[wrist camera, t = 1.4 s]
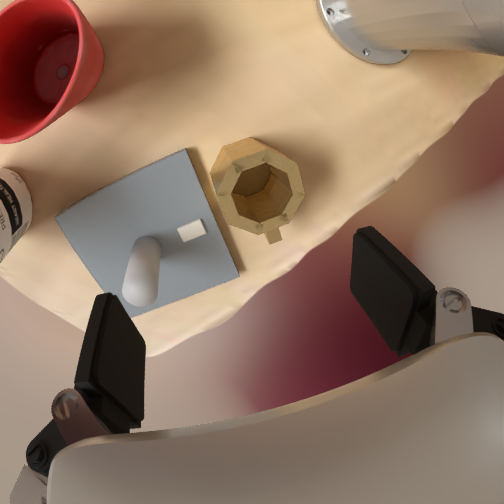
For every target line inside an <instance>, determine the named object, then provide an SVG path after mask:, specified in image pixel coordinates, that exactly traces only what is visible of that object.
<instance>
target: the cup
mask: <svg viewBox="0 0 504 504" xmlns="http://www.w3.org/2000/svg"><path fill="white" fill-rule="evenodd" d="M264 163H267V164H269V166H270V169H271V173H272V175H271V176H270V178H269V180H268V182H267V184H266V186H265V188H264V189H263V191H260V192H258V193H255V194H252V195H250V196H247V197H243V196H241V195H238V194H236V193H233V192H232V190H233V188H234V186H235V184H236V182H237V180H238V178H239V176H240V174H241V172H242V171H245V170H247V169H250V168H253V167H256V166H259V165H261V164H264ZM210 175H211V179H212V182H213V185H214V188H215V192H216V195H217V197H218V199H219V202H220V204H221V207H222V209H223V212H224V214H225V217H226V219H227V222H228V224H229V225H232V226H235V227H238V228H240V229H243V230H246V231H249V232H251V233H254V234H257V235H260V234H262V233H264V234H265V237H266V238H267V240H268V242H269V244H273V243H275V242H278V241H280V240H282V238H281V234H280V231H279V227H280V226H283V225H286V224H288V223H289V222H290V221H291V219H292V217H293V216H294V214H295V212H296V210H297V209H298V207H299V205H300V203H301V202H302V200H303V198H304V197H305V191H304V187H303V183H302V179H301V175H300V171H299V167H298V164H297V163H295V162H294V161H292V160H291V159H289V158H288V157H286V156H285V155H283V154H282V153H280V152H279V151H277V150H275V149H274V148H272V147H270V146H267V145H265V144H263V143H261V142H259V141H257V140H255V139H253V138H251V137H249V138H246V139H243V140H240V141H238V142H235V143H232V144H229V145H227V146H224V147H222V149H221V151H220V153H219V155H218V157H217V159H216V161H215V163H214V165H213V167H212V169H211V172H210Z"/></svg>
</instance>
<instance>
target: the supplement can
mask: <svg viewBox="0 0 504 504" xmlns="http://www.w3.org/2000/svg"><path fill="white" fill-rule="evenodd" d="M32 209H33V206H32V201H31V196H30V193H29V191H28V189H27V187H26V184H25V182H24V181H23V180H22V179H21V178H20V177H19V175H18V174H17V173H15V172H13V171H11V170H9V169H6V168H0V263H1V261H2V260H3V259H4V258H5V256H6V255H7V254H8V253H9V251H10V250H11V249H12V248H13V246H14V245H15V244H16V243H17V241H18V240H19V239H20V238H21V237H22V236H23V234H24V233H25V232H26V231H27V230H28V228H29V225H30V223H31V220H32Z"/></svg>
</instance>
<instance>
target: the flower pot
mask: <svg viewBox="0 0 504 504" xmlns="http://www.w3.org/2000/svg"><path fill="white" fill-rule="evenodd" d="M103 66H104V53H103V49H102V46H101V44H100V41H99V39H98V37H97V35H96V33H95V32H94V30H93V28H92V27H91V25H90V24H89V22H88V21H87V19H86V18H85V16H84V14H83V13H82V12H81V10H80V9H79V7H78V6H77V5H76V4H75V2H74V1H73V0H15V1H14V2H12V3H11V4H9V5H8V6H7V7H5V8H4V9H3V10H2V11H1V12H0V143H1V144H11V143H16V142H20V141H23V140H25V139H28V138H30V137H31V136H33V135H35V134H37V133H38V132H40V131H42V130H43V129H44V128H46V127H47V126H49V125H50V124H51V123H53V122H54V121H56V120H57V119H58V118H60V117H61V116H62V115H64V114H65V113H66V112H68V111H69V110H70V109H72V108H73V107H74V106H75V105H77V104H78V103H79V102H81V101H82V100H83V99H85V98H86V97H87V96H88V95H89V94H90V93H91V91H92V90H93V89H94V87H95V86H96V84H97V83H98V81H99V79H100V76H101V74H102V70H103Z"/></svg>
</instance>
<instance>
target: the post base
mask: <svg viewBox="0 0 504 504" xmlns="http://www.w3.org/2000/svg"><path fill="white" fill-rule="evenodd" d="M55 220H56V222H57V223H58V225H59V227H60V228H61V230H62V232H63V233H64V235H65V236H66V238H67V239H68V241H69V243H70V244H71V246H72V247H73V249H74V250H75V252H76V253H77V255H78V256H79V258H80V259H81V261H82V262H83V264H84V265H85V267H86V268H87V269H88V271H89V272H90V274H91V275H92V276H93V278H94V279H95V280H96V282H97V283H98V285H99V286H100V287H101V289H102V290H103V291H104V293H108V292H111V293H112V294H113V295H117V297H118V298H119V300H120V302H121V303H122V305H123V307H124V308H125V310H126V312H127V313H128V315H129V317H130V318H132V317H135V316H137V315H140V314H143V313H146V312H148V311H151V310H154V309H156V308H159V307H162V306H164V305H167V304H170V303H172V302H175V301H178V300H180V299H183V298H186V297H188V296H191V295H194V294H196V293H199V292H202V291H204V290H207V289H209V288H212V287H215V286H217V285H220V284H222V283H225V282H228V281H230V280H233V279H235V278H238V277H240V276H239V273H238V270H237V268H236V265H235V263H234V261H233V259H232V256H231V254H230V252H229V249H228V247H227V245H226V243H225V240H224V238H223V236H222V233H221V231H220V229H219V226H218V224H217V222H216V219H215V217H214V215H213V212H212V210H211V208H210V205H209V203H208V200H207V198H206V196H205V193H204V191H203V189H202V186H201V184H200V181H199V179H198V177H197V174H196V172H195V169H194V167H193V165H192V162H191V160H190V157H189V155H188V152H187V150H186V148H185V149H182V150H180V151H178V152H175V153H173V154H171V155H168V156H166V157H164V158H162V159H160V160H157V161H155V162H153V163H151V164H149V165H147V166H144V167H142V168H140V169H138V170H136V171H134V172H132V173H130V174H128V175H126V176H124V177H122V178H120V179H118V180H116V181H114V182H113V183H111V184H109V185H107V186H105V187H103V188H101V189H100V190H98V191H96V192H94V193H92V194H91V195H89V196H87V197H85V198H84V199H82V200H80V201H79V202H77V203H75V204H73V205H72V206H70V207H69V208H67V209H65V210H64V211H62V212H60V213H59V214H58V215H57V216H56V217H55Z"/></svg>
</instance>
